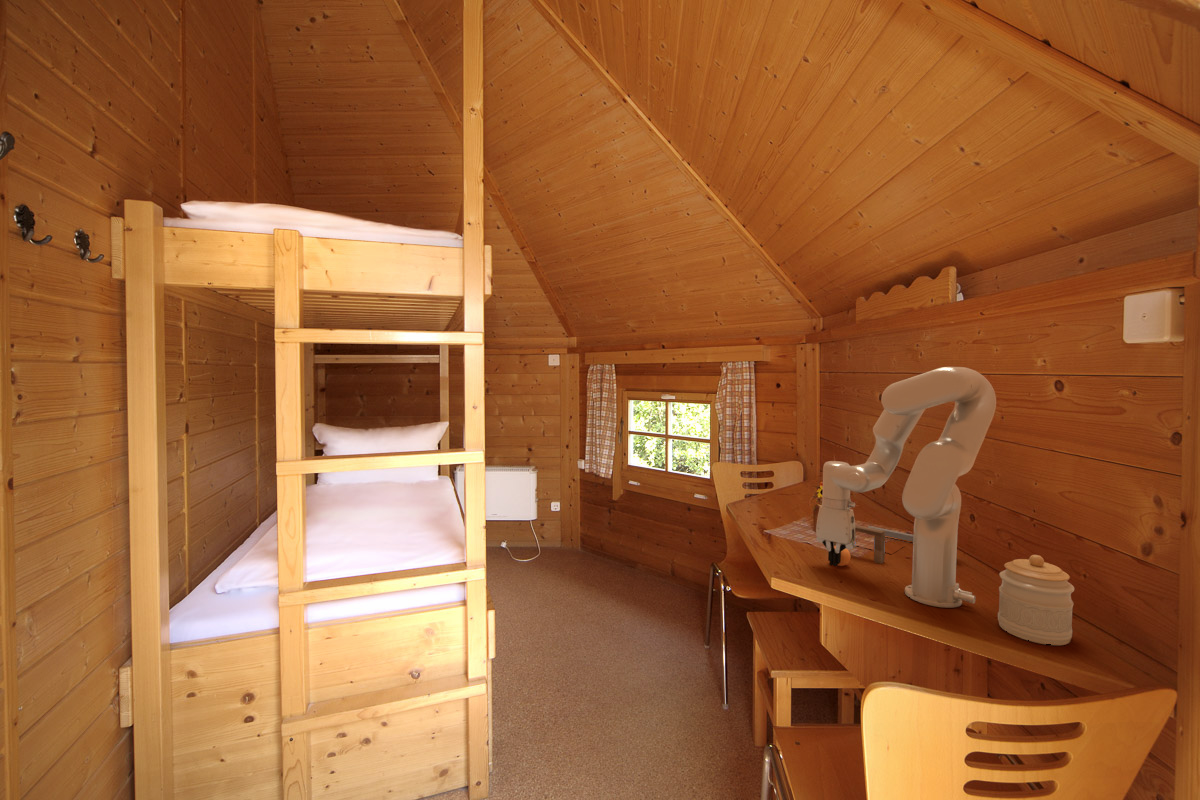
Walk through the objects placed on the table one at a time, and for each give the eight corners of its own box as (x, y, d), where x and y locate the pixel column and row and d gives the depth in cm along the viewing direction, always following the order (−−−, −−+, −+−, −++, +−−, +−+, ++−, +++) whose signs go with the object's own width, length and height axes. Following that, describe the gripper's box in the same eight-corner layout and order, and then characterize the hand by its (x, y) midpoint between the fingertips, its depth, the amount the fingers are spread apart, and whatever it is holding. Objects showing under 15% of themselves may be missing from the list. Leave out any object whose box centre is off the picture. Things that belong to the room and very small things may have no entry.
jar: (996, 614, 128) (999, 542, 127) (1067, 629, 120) (1071, 553, 120) (998, 635, 117) (1001, 557, 117) (1076, 653, 110) (1080, 569, 109)
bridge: (835, 550, 175) (836, 521, 175) (884, 562, 164) (885, 531, 163) (831, 552, 173) (832, 522, 172) (880, 564, 162) (881, 533, 161)
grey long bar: (917, 542, 183) (917, 535, 183) (915, 544, 182) (915, 536, 182) (869, 532, 195) (869, 525, 195) (866, 533, 194) (867, 526, 194)
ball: (848, 570, 157) (854, 562, 161) (845, 551, 156) (851, 543, 160) (827, 567, 161) (834, 559, 165) (824, 549, 160) (831, 541, 164)
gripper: (867, 505, 154) (865, 567, 155) (816, 497, 164) (814, 555, 165) (857, 510, 148) (856, 574, 149) (805, 501, 159) (804, 561, 160)
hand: (834, 564), depth 157 cm, fingers closed
